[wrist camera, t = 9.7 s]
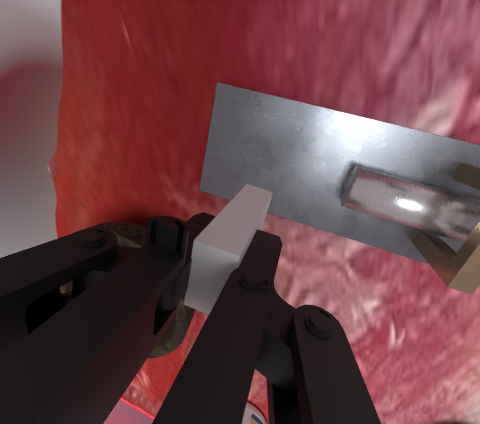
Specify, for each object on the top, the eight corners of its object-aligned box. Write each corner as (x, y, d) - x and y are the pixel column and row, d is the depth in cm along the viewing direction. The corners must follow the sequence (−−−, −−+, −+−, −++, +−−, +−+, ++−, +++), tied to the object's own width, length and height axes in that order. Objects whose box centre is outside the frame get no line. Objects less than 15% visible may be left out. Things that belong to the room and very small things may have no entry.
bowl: (221, 222, 37) (192, 256, 28) (208, 326, 45) (182, 378, 36) (100, 191, 41) (40, 211, 32) (108, 291, 49) (63, 330, 40)
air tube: (339, 197, 30) (342, 212, 26) (354, 162, 28) (361, 171, 24) (540, 258, 27) (580, 285, 23) (575, 222, 25) (626, 245, 21)
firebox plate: (220, 83, 30) (183, 69, 21) (651, 186, 23) (851, 227, 14) (202, 188, 36) (167, 210, 27) (543, 297, 29) (641, 373, 20)
